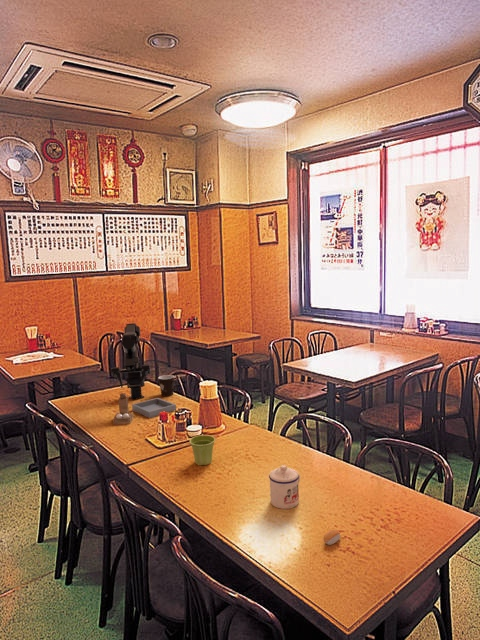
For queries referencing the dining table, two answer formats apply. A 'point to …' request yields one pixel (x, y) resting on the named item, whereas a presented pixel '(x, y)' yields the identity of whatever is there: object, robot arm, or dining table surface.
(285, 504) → the teacup with lid
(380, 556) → the dining table surface
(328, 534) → the sushi
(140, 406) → the bin
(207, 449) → the plant pot
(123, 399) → the brown wooden box
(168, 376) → the coffee mug
